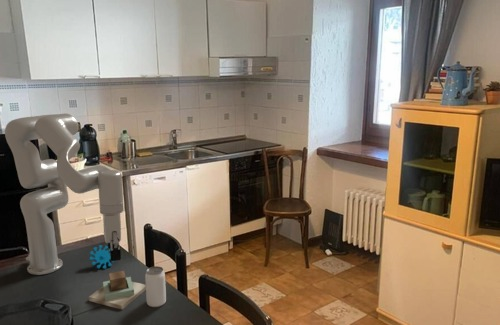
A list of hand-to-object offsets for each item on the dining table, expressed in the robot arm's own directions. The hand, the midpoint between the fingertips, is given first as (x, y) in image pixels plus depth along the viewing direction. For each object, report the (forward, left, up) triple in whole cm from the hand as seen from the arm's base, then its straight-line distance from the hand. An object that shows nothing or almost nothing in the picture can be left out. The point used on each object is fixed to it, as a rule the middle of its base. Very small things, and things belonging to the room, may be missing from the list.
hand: (114, 253), depth 142 cm
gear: (-19, +15, -16) cm, 29 cm away
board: (+1, 0, -16) cm, 16 cm away
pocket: (+1, 0, -14) cm, 14 cm away
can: (+16, +1, -16) cm, 22 cm away
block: (+1, 0, -14) cm, 14 cm away
